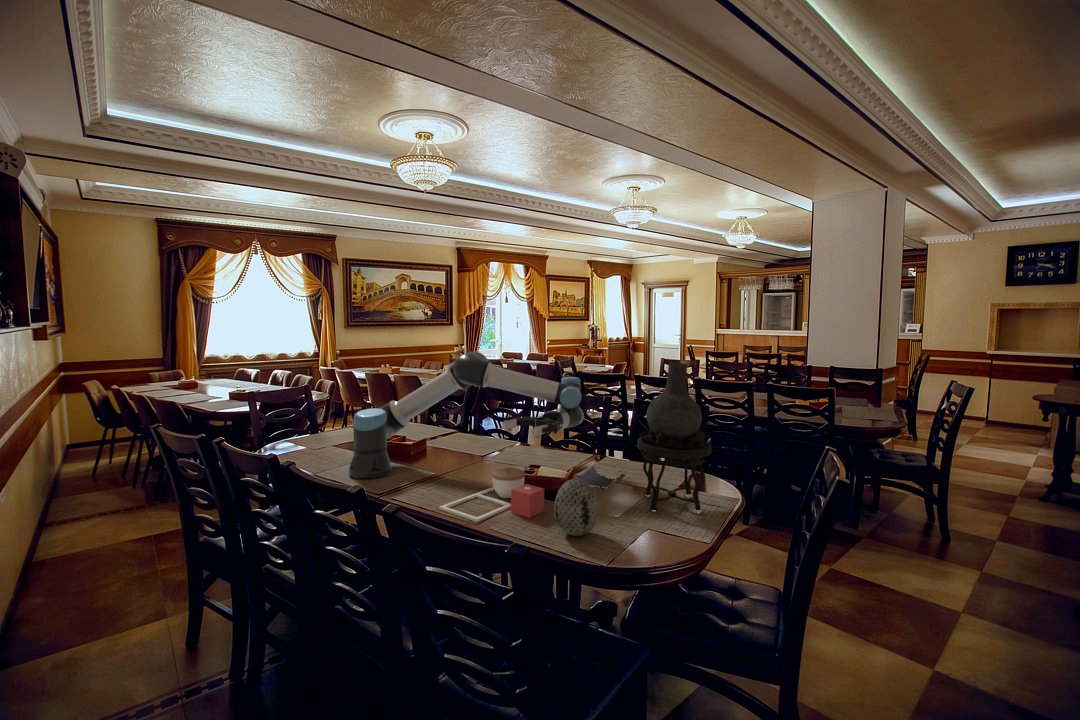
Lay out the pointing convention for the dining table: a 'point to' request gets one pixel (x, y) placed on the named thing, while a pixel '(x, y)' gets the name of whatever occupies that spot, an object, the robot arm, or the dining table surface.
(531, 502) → the die
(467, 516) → the white rectangular frame
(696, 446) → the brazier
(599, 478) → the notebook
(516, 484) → the lidded jar
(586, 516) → the decorative egg
